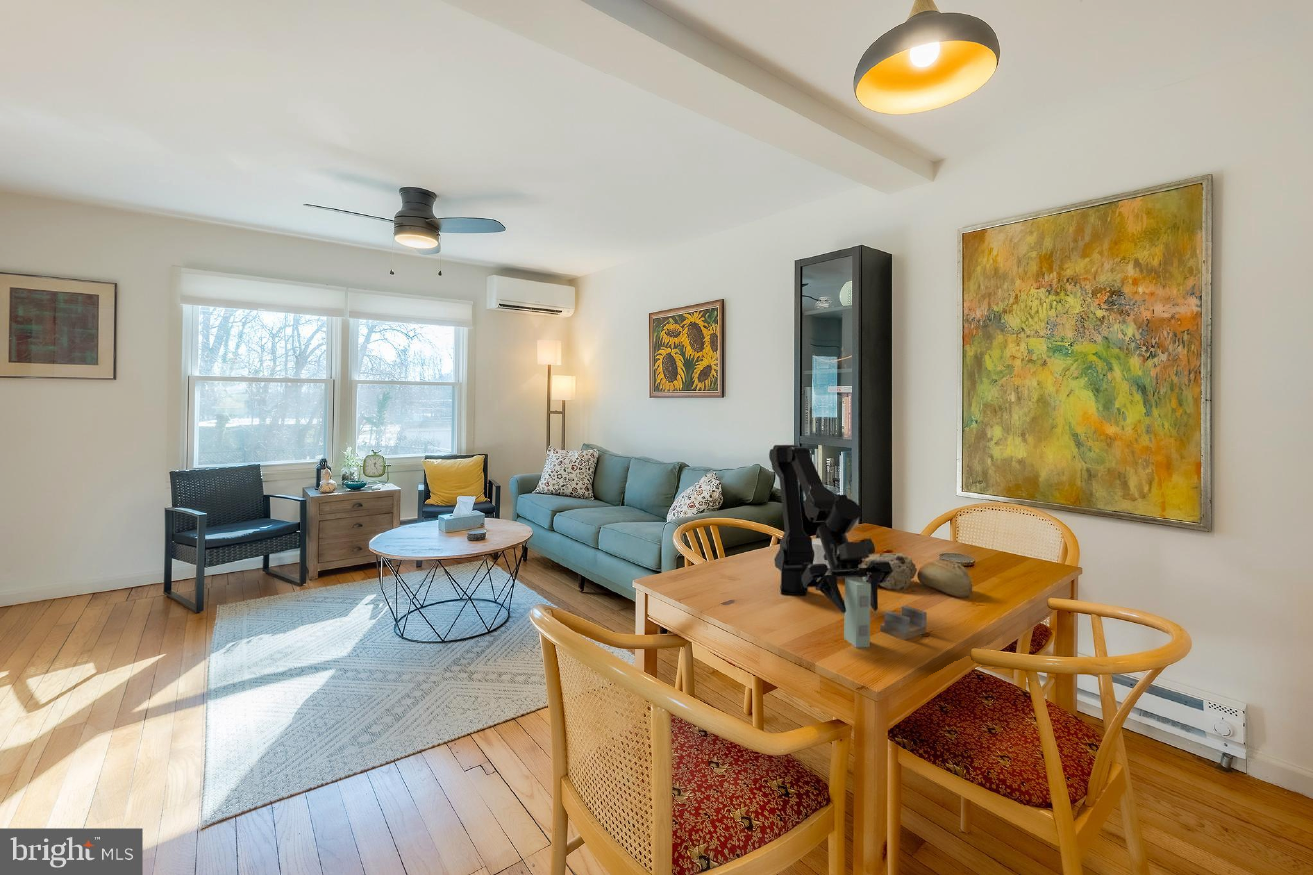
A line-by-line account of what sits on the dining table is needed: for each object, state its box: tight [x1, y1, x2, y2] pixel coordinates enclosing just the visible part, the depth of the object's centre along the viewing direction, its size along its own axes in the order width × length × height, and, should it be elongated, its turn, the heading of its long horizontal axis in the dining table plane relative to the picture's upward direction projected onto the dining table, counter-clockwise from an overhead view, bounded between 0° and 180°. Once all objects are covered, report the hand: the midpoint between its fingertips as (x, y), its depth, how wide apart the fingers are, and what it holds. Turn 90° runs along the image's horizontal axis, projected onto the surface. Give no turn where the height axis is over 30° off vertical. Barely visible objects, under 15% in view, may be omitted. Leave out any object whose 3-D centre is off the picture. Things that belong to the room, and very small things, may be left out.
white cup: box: [811, 538, 830, 568], centre depth 167 cm, size 8×8×10 cm
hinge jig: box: [879, 605, 928, 641], centre depth 126 cm, size 6×8×4 cm
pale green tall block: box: [843, 577, 871, 649], centre depth 120 cm, size 5×3×13 cm, turn 10°
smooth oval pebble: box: [916, 558, 973, 599], centre depth 154 cm, size 10×15×8 cm, turn 27°
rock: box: [858, 552, 918, 591], centre depth 163 cm, size 21×14×10 cm
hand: (860, 611), depth 118 cm, fingers open, 7 cm apart
